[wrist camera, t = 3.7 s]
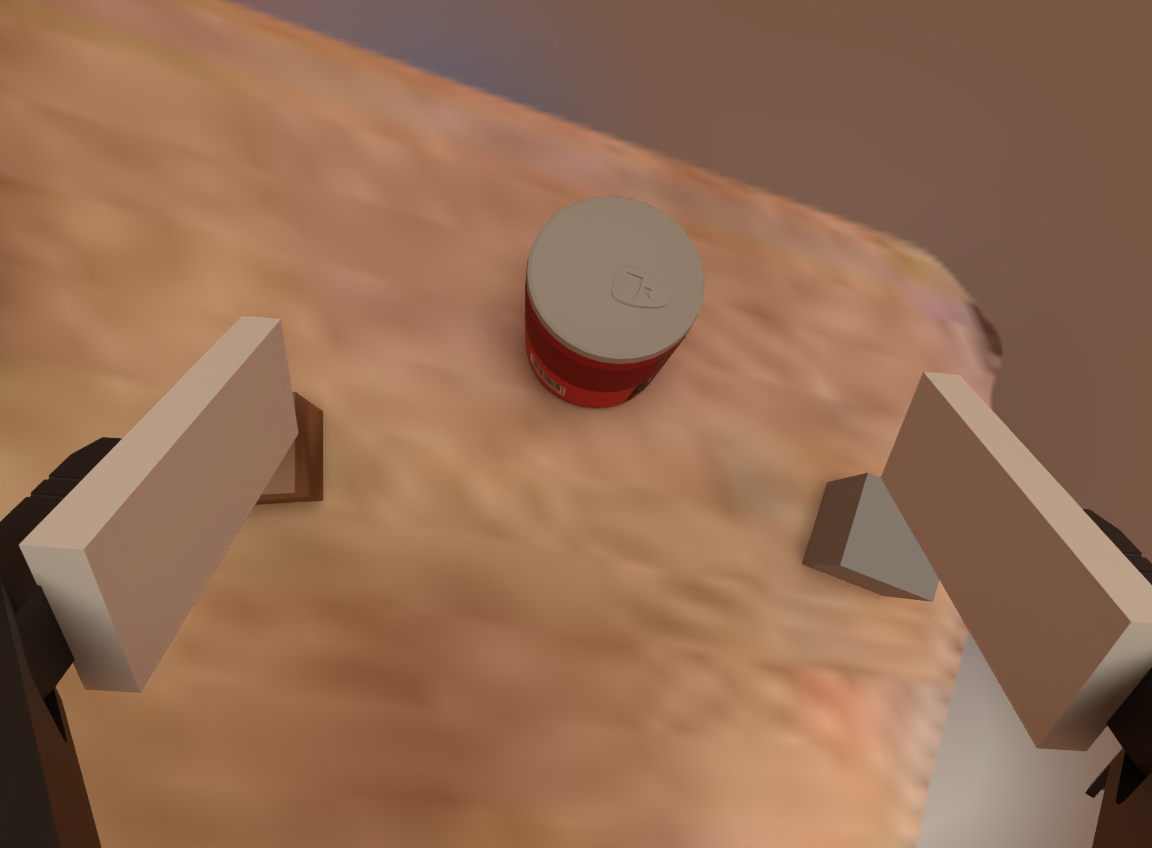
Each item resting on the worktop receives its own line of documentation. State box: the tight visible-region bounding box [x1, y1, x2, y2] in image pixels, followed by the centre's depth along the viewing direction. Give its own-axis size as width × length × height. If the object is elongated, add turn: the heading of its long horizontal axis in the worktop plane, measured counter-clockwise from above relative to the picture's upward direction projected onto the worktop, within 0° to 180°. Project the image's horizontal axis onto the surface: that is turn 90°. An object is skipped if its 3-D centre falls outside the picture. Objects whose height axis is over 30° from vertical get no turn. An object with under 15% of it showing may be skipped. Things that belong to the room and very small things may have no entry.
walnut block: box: [256, 392, 323, 504], centre depth 37 cm, size 5×5×5 cm
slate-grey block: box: [802, 473, 939, 602], centre depth 38 cm, size 5×5×5 cm
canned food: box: [525, 196, 704, 408], centre depth 36 cm, size 8×8×11 cm
